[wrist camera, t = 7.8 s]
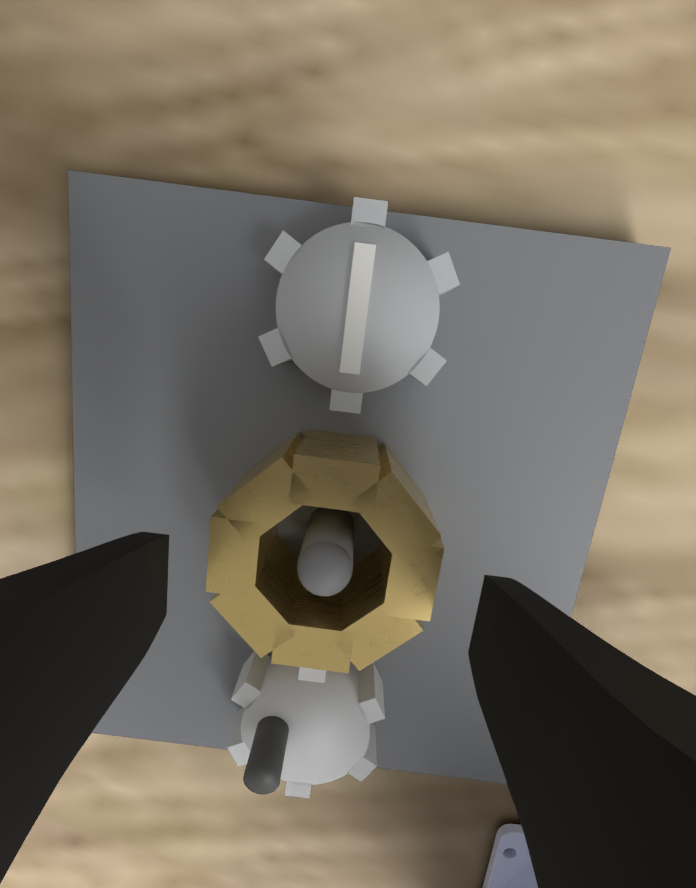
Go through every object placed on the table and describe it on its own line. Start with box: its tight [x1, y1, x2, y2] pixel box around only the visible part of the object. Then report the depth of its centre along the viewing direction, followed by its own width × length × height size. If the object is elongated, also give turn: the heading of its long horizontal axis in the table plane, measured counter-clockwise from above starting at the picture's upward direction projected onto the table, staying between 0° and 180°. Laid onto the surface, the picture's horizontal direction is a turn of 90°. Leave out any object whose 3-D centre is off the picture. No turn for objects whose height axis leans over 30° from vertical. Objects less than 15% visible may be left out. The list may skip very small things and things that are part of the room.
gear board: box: [68, 170, 671, 798], centre depth 13 cm, size 18×16×4 cm
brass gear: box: [206, 429, 445, 673], centre depth 12 cm, size 6×6×3 cm
